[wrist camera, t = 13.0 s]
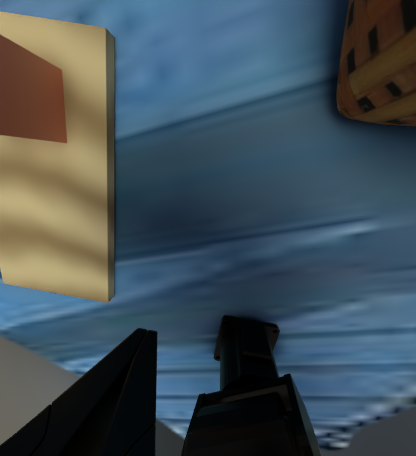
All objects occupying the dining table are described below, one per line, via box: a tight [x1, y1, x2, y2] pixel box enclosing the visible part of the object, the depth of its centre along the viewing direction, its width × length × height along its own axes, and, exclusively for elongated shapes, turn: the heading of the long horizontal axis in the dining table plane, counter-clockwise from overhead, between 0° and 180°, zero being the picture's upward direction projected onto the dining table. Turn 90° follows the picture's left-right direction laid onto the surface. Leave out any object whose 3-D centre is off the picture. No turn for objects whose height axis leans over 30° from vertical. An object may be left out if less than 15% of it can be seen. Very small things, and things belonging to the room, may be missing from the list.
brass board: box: [0, 12, 115, 303], centre depth 18 cm, size 24×12×1 cm, turn 171°
